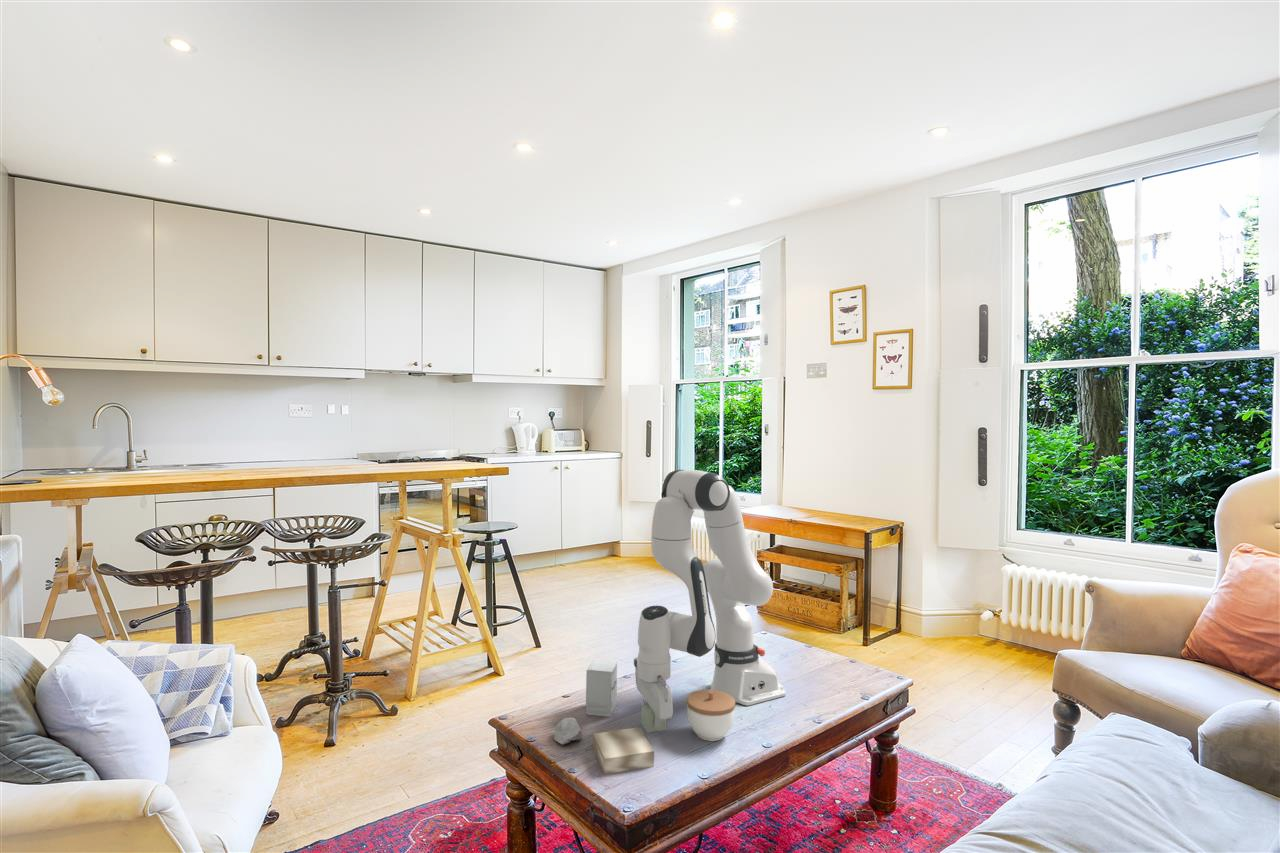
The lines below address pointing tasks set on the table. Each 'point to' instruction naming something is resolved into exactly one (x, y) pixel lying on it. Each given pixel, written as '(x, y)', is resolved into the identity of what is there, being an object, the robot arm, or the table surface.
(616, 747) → the ash block
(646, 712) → the sage cube
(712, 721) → the lidded bowl
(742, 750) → the table surface
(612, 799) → the table surface
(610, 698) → the supplement box
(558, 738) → the white clam shell
